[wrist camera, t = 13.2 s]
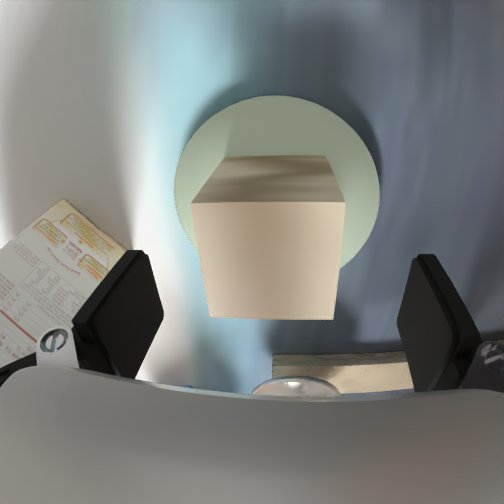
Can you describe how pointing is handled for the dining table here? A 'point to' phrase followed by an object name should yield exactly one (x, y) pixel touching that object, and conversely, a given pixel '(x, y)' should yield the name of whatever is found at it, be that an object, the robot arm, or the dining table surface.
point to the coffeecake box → (49, 276)
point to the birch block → (270, 237)
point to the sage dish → (283, 143)
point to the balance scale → (336, 374)
